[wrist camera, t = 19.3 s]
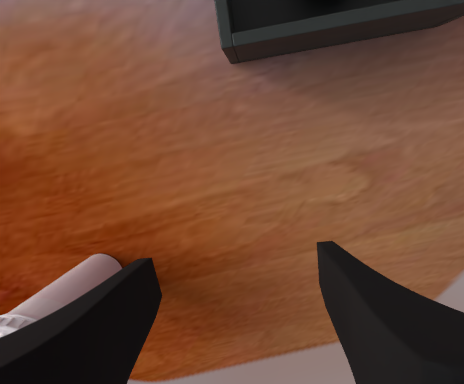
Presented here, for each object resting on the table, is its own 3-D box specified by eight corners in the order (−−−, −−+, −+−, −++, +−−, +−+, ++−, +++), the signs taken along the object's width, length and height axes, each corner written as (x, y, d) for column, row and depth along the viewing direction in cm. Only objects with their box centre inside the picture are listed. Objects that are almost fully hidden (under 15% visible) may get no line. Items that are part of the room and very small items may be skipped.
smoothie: (86, 227, 23) (-133, 389, 10) (149, 264, 24) (21, 460, 11) (61, 277, 25) (-149, 466, 12) (120, 310, 26) (-18, 522, 13)
